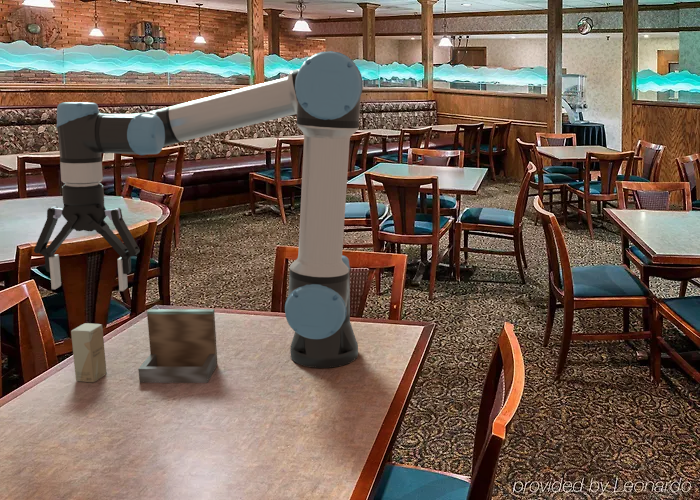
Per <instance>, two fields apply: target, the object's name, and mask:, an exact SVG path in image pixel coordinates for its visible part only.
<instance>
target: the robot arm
mask: <svg viewBox="0 0 700 500" xmlns="http://www.w3.org/2000/svg"><path fill="white" fill-rule="evenodd" d="M358 67H359V66H357V64H356V63H355V62H354V61H353V59H351V58H350V57H348V56H347V54H346V55H345V54H343V53H342V52H340V51H339V52H338V51H337V52H336V51H333V50H330V51H319V52H317V53H315V54H313V55H311V56H309V57H308V58H307V59H306V60H304V62H303V63H302V64H301V66H300V68H296V69H292V70H290V71H289V74H288V75H287V76H286V77H282V78H279V79H275V80H270V81H265V82H264V83H263V82H262V83H258V84H253V85H251V86H245V87H241V88H239V89H238V88H237V89H235V90H231V91H226V92H222V93H217V94H215V95H211V96H208V97H203V98H199V99H195V100H191V101H190V100H189V101H188V102H183V103H179V104H175V105H171V106H168V107H163V108H160V109H159V108H158V109H154V110H150V111H145V112H137V113H136V112H135V113H102V112H100V110H99V105H98V104H97V103H96V102H89V101H88V102H87V101H82V102H81V101H79V102H78V101H75V102H74V101H71V102H70V101H67V102H66V101H65V102H60V103H59V104H58V105H57V106H56V107H57V108H56V127H55V129H56V131H57V139H58V140H57V141H58V151H59V164H60V165H59V166H60V167H59V168H60V181H61V182H62V183H63V185H62V186H61V191H62V192H61V193H62V203H63V208H61V207H58V206H57V205H53V206H51V207H48V209H47V210H46V219H45V223H44V225H43V228H42V230H41V232H40V234H39V237H38V240H37V241H36V244H35V246H34V249H33V253H35V254H37V255H39V254H40V255H43V257H44V266H45V270H46V273H49V274H50V283H51V284H50V285H51V290H56V289H58V288H60V287H61V286H62V278H61V277H62V276H61V267H60V264H61V263H60V254H57V253H56V252H57V251H58V249H59V248H60V246H61V245H62V244H63V243H64V242H65V240H66V239H67V238H68V237H69V235H70V233H72V231H74V230H75V231H76V232H82V231H85V232H94V231H95V232H96V233H97V234H99V235H100V236H102V238H103V239H104V240H105V241H106V242H107V243H108V244H109V245H110V247H112V249H113V250H114V251H115V252H116V253H117V254H118V255H119V257H118V258H117V274H118V292H124V291H125V290H126V289H127V288H128V275H129V274H130V273H131V272H132V260H131V258H132V257H135V256H136V255H138V254H139V253H140V251H141V249H140V247H139V246H138V244H137V241H136V240H135V238H134V236H133V234H132V233H131V231H130V229H129V228H128V226H127V224H126V222H125V220H124V219H123V214H122V209H121V208H120V207H116V208H114V209H106V207H105V194H104V192H105V191H104V190H105V189H104V185H103V184H102V181H103V180H104V179H103V178H104V176H103V165H102V163H103V162H102V154H122V155H139V156H146V155H159V154H160V152H162V150H163V148H164V147H166V146H167V147H168V146H170V145H174V144H178V143H182V142H186V141H191V140H194V139H198V138H199V139H200V138H203V137H207V136H212V135H215V134H220V133H223V132H228V131H232V130H236V129H239V128H244V127H248V126H252V125H258V124H261V123H265V122H269V121H272V120H278V119H281V118H285V117H289V116H293V115H296V127H297V128H298V129H299V130H300V131H301V132H302V134H303V152H302V153H303V154H302V156H303V157H302V174H301V191H300V192H301V195H300V197H301V198H300V214H299V215H300V216H299V231H298V233H299V235H298V255H297V258H296V259H294V261H293V262H292V263H290V266H289V275H288V276H289V278H288V279H289V281H288V294H287V295H288V296H287V298H286V301H285V303H284V312H285V313H284V314H285V318H286V321H287V323H288V325H289V327H290V328H291V329H292V330H293V331H294V334H293V337H292V341H291V343H290V348H289V349H290V358H291V360H292V361H293V362H294V363H296V364H298V365H301V366H302V367H303V366H304V367H308V368H309V367H310V368H314V369H315V368H318V369H319V368H320V369H322V368H323V369H326V368H327V369H329V368H337V367H341V366H345V365H348V364H351V363H352V362H354V361H355V360H356V359H357V358H358V356H359V345H358V341H357V338H356V336H355V331H354V330H353V326H352V324H351V307H350V305H351V299H350V298H351V296H350V295H351V294H350V292H351V291H350V285H351V283H350V272H351V266H350V259H349V258H348V257H347V256H346V255H343V249H344V248H343V247H344V234H345V232H344V231H345V219H346V218H345V215H346V201H347V189H348V187H347V185H348V184H347V183H348V169H349V157H350V156H349V155H350V143H351V141H350V140H351V139H350V138H351V137H352V136H353V135H354V134H356V132H357V131H358V130H359V129H360V127H359V125H360V115H361V99H362V93H363V88H364V81H363V77H362V74H361V71H360V69H359V68H358ZM61 216H63V218H64V219H65V221H66V222H65V224H64V225H63V226H62V228H61V230H60V231H59V232H58V233H57V235H56V236H55V238H54V239H53V240H52V241H51V242H50V244H49V245H48V243H49V241H50V239H51V237H52V235H53V232H54V230H55V228H56V226H57V223H58V221H59V219H60V218H61ZM106 217H108V219H109V220H110V221H111V222H112V224H113V226H114V228H115V229H116V231H117V233H118V235H119V237H120V238H121V239H120V238H119V237H118V236H117V234H115V232H114V231H113V230H112V229H111V228H110V226H109V224H108V223H107V222H106V221H105V219H106ZM55 253H56V254H55Z"/></svg>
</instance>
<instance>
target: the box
mask: <svg viewBox="0 0 700 500" xmlns="http://www.w3.org/2000/svg"><path fill="white" fill-rule="evenodd" d="M70 334H71V343H72V355H73V364H74V374H75V381H76V382H82V383H83V382H84V383H85V382H86V383H95V382H96V381H99V380H100V379H101V378H103V377H104V376H105V375H106V374H107V363H106V353H105V343H104V340H105V339H104V330H103V324H100V323H91V322H90V323H89V322H87V323H86V322H85V323H83V324H80V325H79V326H77V327H75V328H73V329H72V330H70Z"/></svg>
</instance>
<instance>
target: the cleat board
mask: <svg viewBox="0 0 700 500" xmlns="http://www.w3.org/2000/svg"><path fill="white" fill-rule="evenodd" d="M146 315H147V316H146V317H147V318H146V319H147V327H148V328H147V329H148V340H149V350H150V352H149V353H150V354H149V355H148V357H146V359H145V360H144V361H143V363H142V364H141V365H140V366H139V368H138V370H137V372H138V379H139V381H138V383H140V384H141V383H142V384H143V383H145V384H146V383H153V384H154V383H156V384H157V383H159V384H160V383H161V384H163V383H167V384H168V383H171V384H172V383H174V384H175V383H176V384H177V383H180V384H181V383H183V384H185V383H187V384H189V383H193V384H194V383H195V384H197V383H200V384H201V383H205V384H206V383H207V384H208V383H209V380H210V379H211V377H212V375H213V373H214V372H215V370H216V368H217V366H218V352H217V351H218V350H217V333H216V319H215V317H216V316H215V315H216V314H215V309H214V308H213V309H212V308H207V309H206V308H202V309H201V308H200V309H199V308H192V309H191V308H187V309H186V308H185V309H184V308H182V309H181V308H180V309H179V308H178V309H177V308H176V309H175V308H174V309H172V308H171V309H170V308H169V309H167V308H164V309H163V308H162V309H161V308H160V309H159V308H155V309H154V308H153V309H150V308H149V309H148V310H147V311H146Z"/></svg>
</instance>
